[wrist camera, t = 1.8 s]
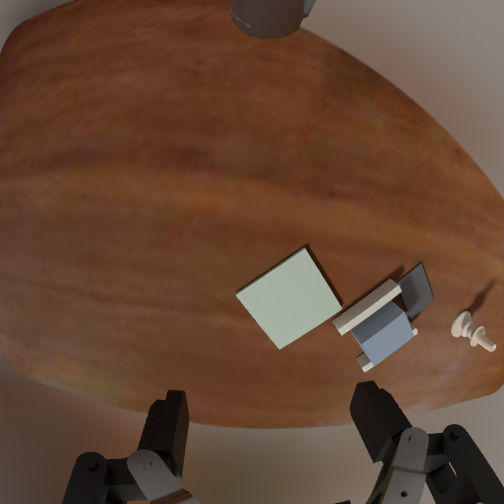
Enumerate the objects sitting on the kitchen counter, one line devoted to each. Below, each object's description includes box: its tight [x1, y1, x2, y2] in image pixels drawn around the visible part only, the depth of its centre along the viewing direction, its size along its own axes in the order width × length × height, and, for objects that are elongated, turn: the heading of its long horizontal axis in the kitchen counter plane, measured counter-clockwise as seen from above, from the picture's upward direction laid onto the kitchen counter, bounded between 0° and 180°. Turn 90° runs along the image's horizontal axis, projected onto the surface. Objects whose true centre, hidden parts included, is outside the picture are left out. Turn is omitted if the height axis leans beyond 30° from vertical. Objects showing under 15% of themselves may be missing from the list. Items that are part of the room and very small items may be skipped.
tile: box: [236, 247, 342, 349], centre depth 35 cm, size 10×10×1 cm
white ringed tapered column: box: [451, 311, 496, 352], centre depth 34 cm, size 5×5×10 cm
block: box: [350, 300, 414, 366], centre depth 35 cm, size 7×5×5 cm
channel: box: [332, 263, 434, 372], centre depth 35 cm, size 16×10×2 cm, turn 124°
